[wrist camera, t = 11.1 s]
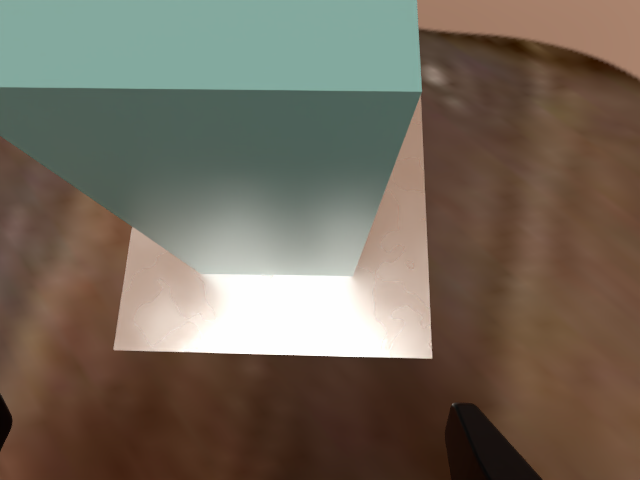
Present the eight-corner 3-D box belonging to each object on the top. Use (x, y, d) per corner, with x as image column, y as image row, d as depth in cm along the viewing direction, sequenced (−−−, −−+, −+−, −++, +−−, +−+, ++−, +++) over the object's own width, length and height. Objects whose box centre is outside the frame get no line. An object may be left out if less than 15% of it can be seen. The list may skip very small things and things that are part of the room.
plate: (425, 358, 17) (451, 358, 13) (125, 350, 17) (76, 348, 14) (415, 95, 20) (434, 41, 17) (162, 90, 20) (130, 36, 17)
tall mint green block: (352, 276, 17) (422, 91, 5) (200, 274, 17) (-71, 86, 5) (352, 139, 18) (403, -237, 7) (213, 137, 18) (28, -239, 7)
